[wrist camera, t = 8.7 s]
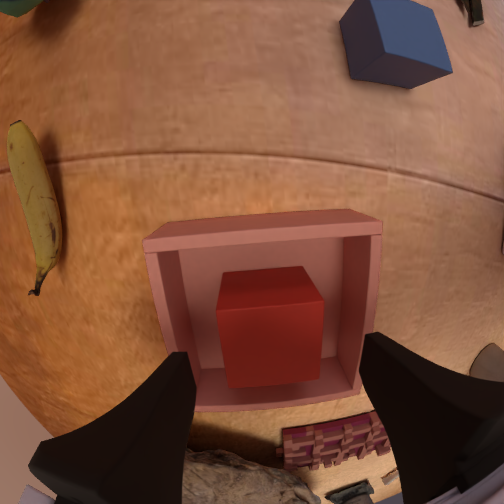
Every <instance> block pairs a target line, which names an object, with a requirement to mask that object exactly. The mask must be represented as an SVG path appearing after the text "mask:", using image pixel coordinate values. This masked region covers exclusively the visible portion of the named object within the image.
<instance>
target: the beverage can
mask: <svg viewBox="0 0 504 504" xmlns="http://www.w3.org/2000/svg"><path fill="white" fill-rule="evenodd" d="M371 493H372V494H374V490H373V488H372V487H371V485H370V483H369V481H368V485H367V483H364V482H363V483H361V485H357V486H355V487H351V488H349V489H346V490H344V491H341V492H340V493H339V494H338V493H336V494H333V495H332V494H331V495H328V496H325V498H326V499H327V500H330V501H331V502H333V503H334V504H374V503H373V502H372V499H371V498H370V495H369V494H371Z"/></svg>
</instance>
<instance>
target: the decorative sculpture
mask: <svg viewBox="0 0 504 504" xmlns="http://www.w3.org/2000/svg"><path fill="white" fill-rule="evenodd" d="M43 1H45V2H46V3H48V2H49V1H50V0H0V12H3V13H5V14H7V15H11V16H14V17H20V16H22V15H24V14H26V13H28V12H29V11H30V10H32V9H33V8H34V7H36V6H37V5H39V4H40V3H41V2H43Z"/></svg>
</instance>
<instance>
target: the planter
mask: <svg viewBox="0 0 504 504" xmlns="http://www.w3.org/2000/svg"><path fill="white" fill-rule="evenodd" d="M470 375H471V376H472V377H475V378H479V379H484V380H491V381H498V382H504V351H503V350H502V349H501V348H500V347H499V346H497V345H496V344H495V343H492V344H490V345H488V346H487V347H486V348H484V349H483V351H482V352H481V353H480V354H479V355H478V357H477V358H476V360H475V361H474V363H473V365H472V368H471V371H470Z"/></svg>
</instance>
